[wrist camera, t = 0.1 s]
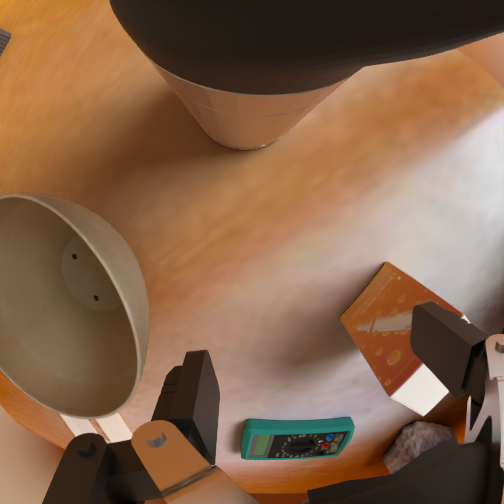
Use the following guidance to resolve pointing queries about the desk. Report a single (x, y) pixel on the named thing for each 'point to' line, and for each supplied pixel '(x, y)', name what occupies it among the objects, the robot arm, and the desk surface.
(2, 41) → the walkie-talkie
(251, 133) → the robot arm
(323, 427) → the digital multimeter
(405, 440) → the geode
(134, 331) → the flower pot
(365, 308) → the small box
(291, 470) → the desk surface
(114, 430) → the port panel
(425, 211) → the desk surface
